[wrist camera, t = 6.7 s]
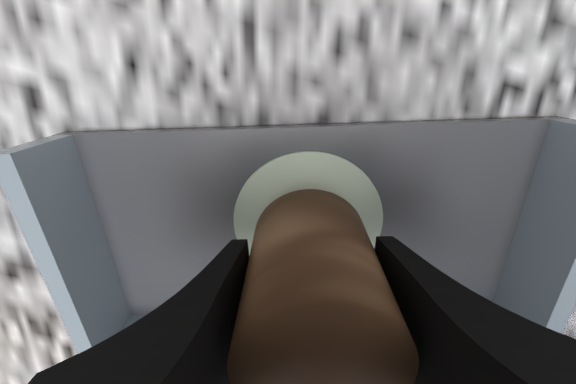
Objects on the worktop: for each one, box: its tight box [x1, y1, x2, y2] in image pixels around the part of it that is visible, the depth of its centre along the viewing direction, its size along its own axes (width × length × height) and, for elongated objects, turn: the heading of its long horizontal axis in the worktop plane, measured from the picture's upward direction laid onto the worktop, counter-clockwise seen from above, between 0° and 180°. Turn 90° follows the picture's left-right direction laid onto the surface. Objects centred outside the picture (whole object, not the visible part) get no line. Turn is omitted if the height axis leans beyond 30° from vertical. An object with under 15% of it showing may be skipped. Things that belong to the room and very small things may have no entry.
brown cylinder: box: [227, 189, 419, 384], centre depth 10 cm, size 5×5×6 cm
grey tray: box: [0, 117, 576, 354], centre depth 13 cm, size 22×11×4 cm, turn 92°
